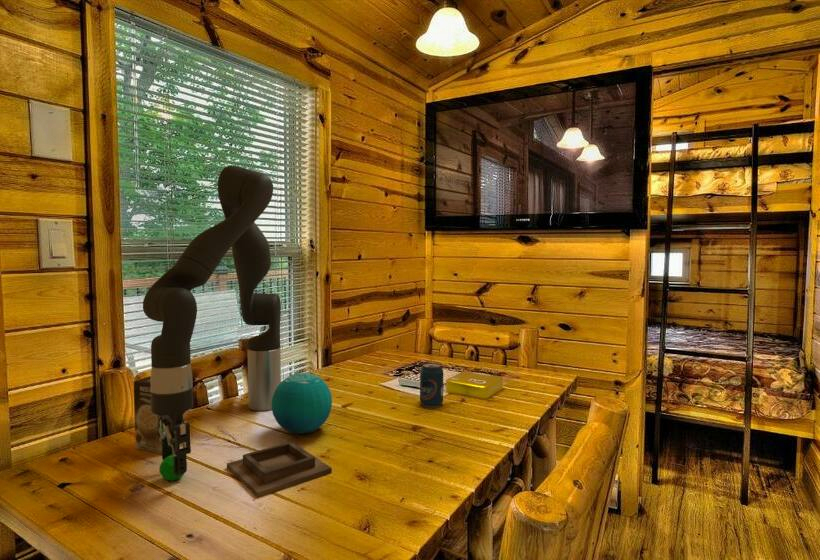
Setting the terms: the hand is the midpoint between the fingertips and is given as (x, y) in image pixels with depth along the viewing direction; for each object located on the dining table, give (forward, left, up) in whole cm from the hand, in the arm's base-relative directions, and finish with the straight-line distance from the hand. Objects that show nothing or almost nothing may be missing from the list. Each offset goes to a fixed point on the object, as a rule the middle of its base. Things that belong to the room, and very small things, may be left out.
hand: (174, 466), depth 98 cm
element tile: (-3, +93, -3) cm, 93 cm away
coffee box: (-19, +2, -3) cm, 20 cm away
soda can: (-1, +72, -3) cm, 72 cm away
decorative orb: (-6, +32, -3) cm, 33 cm away
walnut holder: (+10, +18, -3) cm, 21 cm away
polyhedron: (0, 0, -3) cm, 3 cm away
